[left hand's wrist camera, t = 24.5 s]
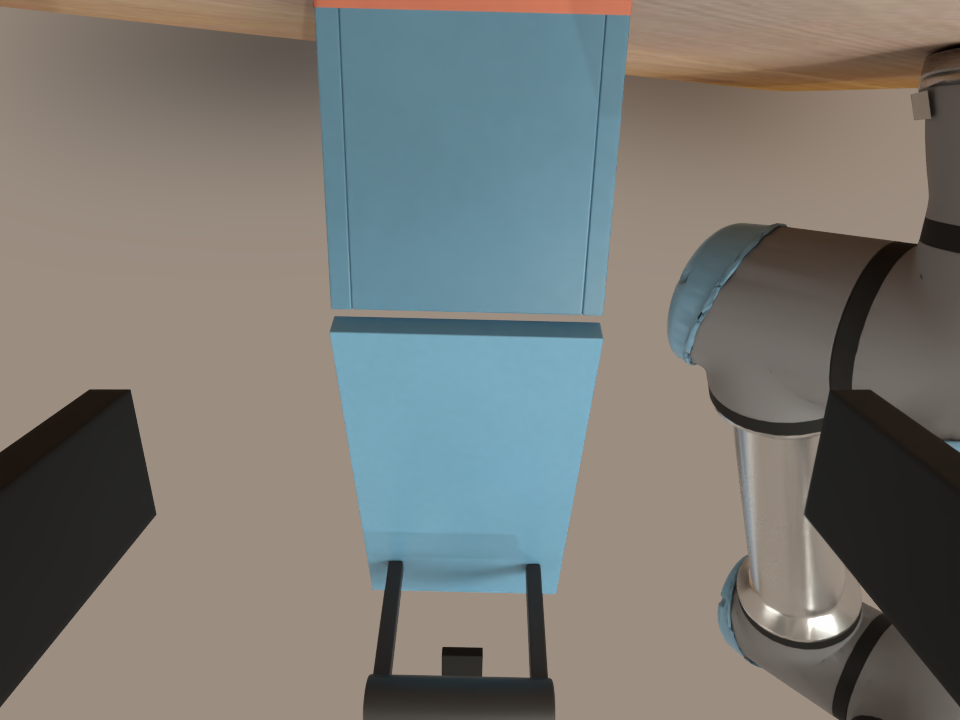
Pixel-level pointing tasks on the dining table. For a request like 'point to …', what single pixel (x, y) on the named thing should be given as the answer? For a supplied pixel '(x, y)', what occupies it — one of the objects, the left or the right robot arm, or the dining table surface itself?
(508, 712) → the lid
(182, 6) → the dining table surface
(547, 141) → the chest
